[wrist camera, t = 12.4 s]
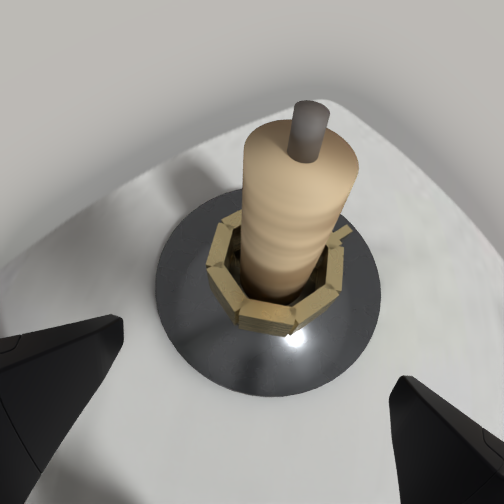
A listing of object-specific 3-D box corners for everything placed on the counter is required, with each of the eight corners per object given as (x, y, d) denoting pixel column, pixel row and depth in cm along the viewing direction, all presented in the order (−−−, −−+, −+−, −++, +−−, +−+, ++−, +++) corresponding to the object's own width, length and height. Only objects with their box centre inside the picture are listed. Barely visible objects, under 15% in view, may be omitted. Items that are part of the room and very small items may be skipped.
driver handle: (292, 318, 19) (368, 172, 8) (229, 292, 19) (222, 124, 8) (312, 262, 21) (379, 104, 10) (254, 240, 22) (272, 70, 10)
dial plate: (238, 443, 16) (239, 453, 12) (126, 252, 22) (108, 222, 18) (411, 307, 21) (439, 287, 17) (290, 170, 27) (297, 137, 23)
